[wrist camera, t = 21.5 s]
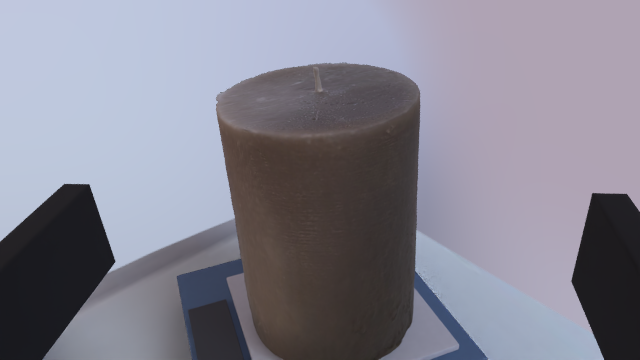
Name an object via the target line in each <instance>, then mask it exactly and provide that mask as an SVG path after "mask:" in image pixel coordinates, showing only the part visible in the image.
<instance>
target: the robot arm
mask: <svg viewBox="0 0 640 360" xmlns="http://www.w3.org/2000/svg"><path fill="white" fill-rule="evenodd" d="M114 263H115V259H114V256H113V253H112V250H111V247H110V244H109V241H108V238H107V235H106V232H105V229H104V227H103V224H102V221H101V218H100V215H99V212H98V209H97V206H96V203H95V200H94V197H93V194H92V191H91V188H90V185H89V184H64V185H63V186H62V187H60V189H58V190H57V191H56V192H55V193H54V194H53V195H52V196H51V197H49V198H48V199H47V200H46V201H45V202H44V203H43V204H42V205H40V206H39V207H38V208H37V209H36V210H35V211H34V212H33V213H32V214H31V215H29V216H28V217H27V218H26V219H25V220H24V221H23V222H22V223H21V224H20V225H18V226H17V227H16V228H15V229H14V230H13V231H12V232H11V233H9V234H8V235H7V236H6V237H5V238H4V239H3V240H2V241H1V242H0V360H42V359H43V358H44V356H45V355H46V354H47V352H48V351H49V350H50V348H51V347H52V346H53V344H54V343H55V342H56V340H57V339H58V338H59V336H60V335H61V334H62V332H63V331H64V330H65V328H66V327H67V326H68V324H69V323H70V322H71V320H72V319H73V318H74V316H75V315H76V314H77V312H78V311H79V310H80V308H81V307H82V306H83V304H84V303H85V302H86V300H87V299H88V298H89V296H90V295H91V294H92V292H93V291H94V290H95V288H96V287H97V286H98V284H99V283H100V282H101V280H102V279H103V278H104V276H105V275H106V274H107V272H108V271H109V270H110V268H111V267H112V266H113V264H114ZM572 284H573V286H574V288H575V291H576V293H577V296H578V298H579V301H580V303H581V305H582V308H583V310H584V312H585V315H586V317H587V320H588V322H589V324H590V327H591V329H592V331H593V334H594V336H595V339H596V341H597V343H598V346H599V348H600V351H601V353H602V355H603V358H604V360H640V212H639V210H638V209H637V207H636V206H635V205H634V203H633V202H632V200H631V199H630V198H629V196H628V195H627V194H600V193H593V194H592V197H591V202H590V206H589V210H588V214H587V218H586V222H585V227H584V231H583V235H582V240H581V244H580V248H579V252H578V256H577V260H576V264H575V268H574V273H573V277H572Z"/></svg>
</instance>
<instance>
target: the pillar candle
mask: <svg viewBox="0 0 640 360" xmlns="http://www.w3.org/2000/svg"><path fill="white" fill-rule="evenodd" d="M216 100H217V101H218V103H217V104H216V106H217V107H216V111H217V117H218V123H219V128H220V135H221V141H222V145H223V152H224V157H225V165H226V170H227V176H228V181H229V187H230V192H231V199H232V205H233V210H234V215H235V223H236V229H237V236H238V241H239V248H240V255H241V259H242V264H243V271H244V279H245V280H244V281H245V286H246V291H247V297H248V302H249V307H250V310H251V313H252V319H253V323H254V327H255V330H256V332H257V334H258V336H259V338H260V340H261V341H262V343H263V344H264V345H265V346H266V348H268V349H269V350H270V351H271V352H272V353H273V354H275V355H276V356H278V357H280V358H282V359H283V360H379V359H381V358H382V357H384V356H386V355H388V354H390V353H391V352H392V351H393V350H395V349H396V348H397V347H399V345H400V344H401V343H402V339H403V338H404V336H405V333H406V331H407V330H408V328H410V326H411V324H412V319H413V309H414V280H415V253H416V252H415V250H416V225H417V224H416V222H417V215H416V213H417V212H416V210H417V209H416V208H417V180H418V148H419V127H420V91H419V88H418V86H417V85H416V83H414V82H413V81H412V80H411V79H409V78H408V77H406V76H405V75H403V74H401V73H398V72H395V71H392V70H388V69H385V68H379V67H375V66H370V65H358V64H347V63H335V64H331V63H322V64H314V65H308V66H301V67H292V68H284V69H280V70H275V71H271V72H267V73H264V74H261V75H258V76H256V77H254V78H249V79H246V80H244V81H241V82H240V83H238V84H236V85H234V86H233V87H231V88H230V89H227V90H226V91H225V92H221V93H220V94H219V95H217V97H216Z"/></svg>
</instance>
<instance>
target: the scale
mask: <svg viewBox="0 0 640 360" xmlns="http://www.w3.org/2000/svg"><path fill="white" fill-rule="evenodd" d="M244 280H245V279H244V271H243V264H242V259H238V260H235V261H231V262H227V263H223V264H220V265H216V266H212V267H208V268H205V269H201V270H197V271H193V272H190V273H186V274H182V275H179V276H177V281H178V286H179V291H180V297H181V302H182V308H183V313H184V318H185V324H186V329H187V334H188V340H189V345H190V350H191V356H192V360H283V359H282V358H280V357H278V356H276V355H275V354H273V353H272V352H271V351H270V350H269V349H268V348H266V346H265V345H264V344H263V343H262V341H261V340H260V338H259V336H258V334H257V332H256V330H255V327H254V323H253V319H252V313H251V310H250V307H249V302H248V297H247V291H246V286H245V281H244ZM379 360H487V357H486V356H485V355H484V353H483V352H482V351H481V350H480V349H479V347H478V346H477V345H476V344H475V343H474V341H473V340H472V339H471V338H470V337H469V335H468V334H467V333H466V332H465V330H464V329H463V328H462V327H461V326H460V324H459V323H458V322H457V321H456V320H455V318H454V317H453V316H452V315H451V314H450V312H449V311H448V310H447V309H446V308H445V306H444V305H443V304H442V303H441V302H440V300H439V299H438V298H437V297H436V296H435V294H434V293H433V292H432V291H431V290H430V288H429V287H428V286H427V285H426V284H425V282H424V281H423V280H422V279H421V277H420V276H419V275H418V274H417V273H416V271H415V280H414V309H413V319H412V324H411V326H410V328H408V330H407V331H406V333H405V336H404V338H403V339H402V343H401V344H400V345H399V347H397V348H396V349H395V350H393V351H392V352H391V353H390V354H388V355H386V356H384V357H382V358H381V359H379Z"/></svg>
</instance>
